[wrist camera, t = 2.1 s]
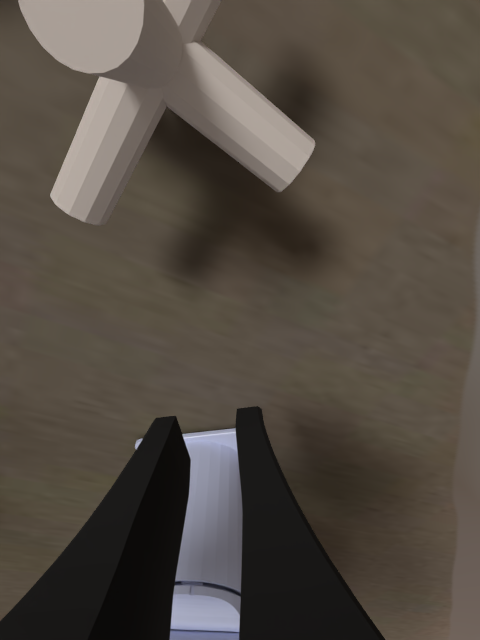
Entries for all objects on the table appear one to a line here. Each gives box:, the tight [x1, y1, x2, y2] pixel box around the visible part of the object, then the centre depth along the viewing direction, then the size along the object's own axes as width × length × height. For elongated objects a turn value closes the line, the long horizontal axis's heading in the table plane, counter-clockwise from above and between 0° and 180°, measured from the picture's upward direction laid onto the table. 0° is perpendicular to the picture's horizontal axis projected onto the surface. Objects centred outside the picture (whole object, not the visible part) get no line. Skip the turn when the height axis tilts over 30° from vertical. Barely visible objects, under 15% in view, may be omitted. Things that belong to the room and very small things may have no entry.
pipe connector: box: [18, 0, 315, 225], centre depth 9 cm, size 10×10×10 cm
